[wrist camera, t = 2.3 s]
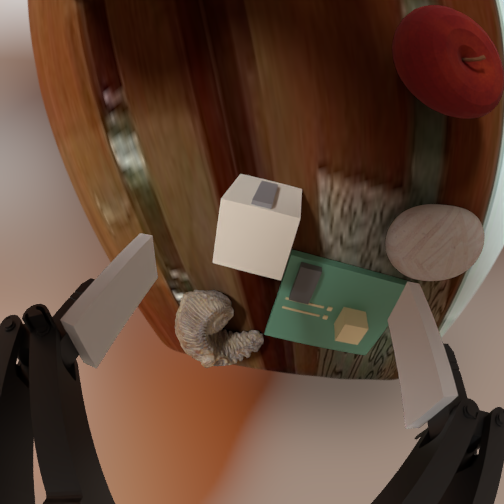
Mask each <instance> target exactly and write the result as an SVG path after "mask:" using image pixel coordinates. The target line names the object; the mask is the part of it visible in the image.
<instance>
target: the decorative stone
mask: <svg viewBox="0 0 504 504" xmlns="http://www.w3.org/2000/svg"><path fill="white" fill-rule="evenodd" d="M483 245H484V230H483V226H482V224H481V222H480V220H479V219H478V218H477V217H476V216H475V215H474V214H473V213H472V212H470V211H468V210H466V209H463V208H460V207H456V206H450V205H439V204H426V205H419V206H415V207H412V208H410V209H408V210H406V211H404V212H402V213H401V214H400V215H399V216H397V217H396V219H395V220H394V221H393V222H392V224H391V225H390V227H389V229H388V232H387V235H386V240H385V247H386V253H387V256H388V258H389V260H390V262H391V263H392V265H393V266H394V267H395V268H396V269H397V270H398V271H399V272H400V273H402V274H404V275H405V276H407V277H410V278H413V279H417V280H422V281H440V280H446V279H450V278H453V277H456V276H458V275H460V274H462V273H464V272H465V271H467V270H468V269H469V268H470V267H471V266H472V265H473V264H474V263H475V262H476V260H477V259H478V257H479V255H480V254H481V251H482V249H483Z"/></svg>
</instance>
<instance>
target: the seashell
mask: <svg viewBox="0 0 504 504" xmlns="http://www.w3.org/2000/svg"><path fill="white" fill-rule="evenodd" d="M233 316H234V310H233V308H232V307H231V301H230V299H229V298H228V297H227V296H225V295H224V294H222V293H221V292H218V291H215V290H211V291H210V290H208V291H203V290H201V291H199V290H194V292H186V293H184V295H183V298H181V302H180V306H179V308H178V311H177V313H176V320H175V324H176V325H175V329H176V330H175V333H176V335H177V337H178V340H179V341H180V343H181V347H182V348H183V349H184V351H185V353H186V354H188V355H190V356H192V358H194V359H196V360H198V361H201V364H202V365H203V366H204V367H205V368H208V367H211V366H224V365H232V363H234V364H235V363H237V359H238V360H239V361H242V360H243V356H245V357H246V358H249V357H250V355H251V352H252V351H254V352H257V351H258V350H259V348H260V347H261V345H262V344H263V342H264V339H263V333H260V332H259V331H257V330H250V331H249V332H246V331H243V332H241V333H239V332H235V333H233V332H232V331H229V332H227V330H226V329H223V328H224V327H225V325H226V324H227V323H228V320H230V319H231V318H232V317H233Z"/></svg>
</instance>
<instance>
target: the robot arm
mask: <svg viewBox="0 0 504 504" xmlns="http://www.w3.org/2000/svg"><path fill="white" fill-rule="evenodd" d="M157 278H158V276H157V269H156V261H155V253H154V245H153V236H152V235H147V234H141V233H140V234H139V235H138V236H137V237H136V238H135V239H134V240H133V241H132V242H131V243H130V244H129V245H128V246H127V247H126V248H125V249H124V250H123V251H122V252H121V253H120V254H119V255H118V256H117V257H116V258H115V259H114V260H113V261H112V262H111V263H110V264H109V265H108V266H107V267H106V268H105V269H104V270H103V272H102V273H101V274H100V275H99V276H98V277H97V278H96V279H89V280H87V281H86V282H84V283H82V284H81V285H80V286H79V288H78V289H77V290H76V291H75V293H73V294H72V295H71V296H70V298H69V299H68V300H67V301H66V302H65V303H64V304H63V305H62V307H61V308H60V309H59V310H58V311H57V312H56V314H55V315H54V316H53V317H52V316H51V314H50V312H49V310H48V309H47V307H46V306H45V305H42V304H36V305H33V306H31V307H30V308H28V309H27V310H26V311H25V313H24V314H23V318H22V319H23V321H24V323H25V324H23V323H22V321H21V319H20V318H19V317H18V316H17V315H10V316H8V317H6V318H5V319H4V320H3V321H2V323H1V324H0V504H35V495H34V480H33V443H34V442H33V441H35V448H36V453H37V458H38V463H39V467H40V472H41V476H42V480H43V484H44V487H45V491H46V500H45V501H44V502H43V504H115V502H114V500H113V498H112V496H111V493H110V491H109V489H108V486H107V483H106V480H105V477H104V475H103V472H102V469H101V466H100V463H99V460H98V457H97V454H96V450H95V447H94V443H93V439H92V436H91V432H90V428H89V424H88V420H87V415H86V411H85V406H84V401H83V395H82V390H81V383H80V377H79V370H78V364H77V361H76V358H77V357H78V355H80V357H81V359H82V360H83V362H84V363H86V364H88V365H90V366H92V367H95V368H97V367H98V366H99V364H100V362H101V361H102V359H103V358H104V356H105V355H106V353H107V352H108V350H109V348H110V347H111V345H112V344H113V342H114V341H115V339H116V338H117V336H118V334H119V333H120V331H121V330H122V328H123V327H124V325H125V324H126V322H127V321H128V320H129V318H130V316H131V315H132V314H133V312H134V311H135V309H136V308H137V306H138V305H139V303H140V302H141V301H142V299H143V298H144V296H145V295H146V293H147V292H148V291H149V289H150V288H151V286H152V285H153V284H154V282H155V281H156V279H157ZM387 321H388V325H389V329H390V334H391V338H392V343H393V348H394V353H395V358H396V364H397V369H398V375H399V381H400V387H401V395H402V402H403V410H404V419H405V428H406V429H409V428H420V427H421V426H422V425H424V424H425V423H426V422H428V428H427V429H426V430H424V431H423V432H422V433H420V434H419V435H417V436H416V438H415V439H418V438H419V437H421V438H420V439H419V441H418V442H417V444H416V446H415V447H414V449H413V450H412V452H411V453H410V455H409V456H408V458H407V459H406V460H405V462H404V463H403V465H402V466H401V467H400V469H399V471H397V473H396V474H395V475H394V477H393V478H392V479H391V481H390V482H389V483H388V484H387V486H386V487H385V488H384V489H383V490H382V492H381V493H380V494H379V495H378V496H377V497H376V499H375V500H374V501H373V502H372V503H371V504H494V501H495V497H496V494H497V490H498V486H499V481H500V478H501V472H502V468H503V463H504V409H502V408H501V407H497V408H495V409H494V410H492V411H491V412H490V413H488V412H484V411H480V410H479V408H478V406H477V404H476V403H475V402H474V401H473V400H471V399H468V398H467V395H466V391H465V388H464V384H463V380H462V377H461V374H460V371H459V367H458V364H457V361H456V358H455V355H454V352H453V351H452V349H451V348H450V346H449V345H448V344H443V342H442V339H441V336H440V333H439V331H438V328H437V325H436V323H435V320H434V317H433V315H432V312H431V310H430V307H429V305H428V302H427V300H426V298H425V295H424V293H423V291H422V288H421V286H420V284H419V283H413V282H408V281H407V283H406V285H405V287H404V289H403V291H402V293H401V295H400V297H399V299H398V301H397V303H396V305H395V307H394V309H393V311H392V313H391V314H390V316H389V318H388V320H387ZM17 358H18V359H19V362H18V364H16V361H17ZM479 448H480V449H479ZM477 449H479V454H478V455H477Z"/></svg>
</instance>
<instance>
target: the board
mask: <svg viewBox="0 0 504 504" xmlns="http://www.w3.org/2000/svg"><path fill="white" fill-rule="evenodd" d="M408 282H410V281H408ZM406 283H407V280H403V279H400V278H396V277H392V276H389V275H385V274H382V273H378V272H374V271H371V270H367V269H363V268H360V267H356V266H352V265H349V264H345V263H341V262H338V261H334V260H330V259H326V258H323V257H319V256H315V255H311V254H308V253H304V252H300V251H296V250H292V251H291V254H290V257H289V260H288V263H287V266H286V269H285V272H284V275H283V278H282V282H281V285H280V288H279V291H278V293H277V296H276V299H275V302H274V305H273V308H272V311H271V314H270V317H269V320H268V323H267V326H266V328H265V333H264V335H268V336H272V337H276V338H281V339H285V340H289V341H294V342H298V343H303V344H307V345H312V346H317V347H322V348H327V349H332V350H337V351H343V352H348V353H354V354H360V355H366V354H367V353H368V352H369V350H370V349H371V348H372V346H373V345H374V344H375V343H376V341H377V340H378V339H379V337H380V336H381V335H382V333H383V332H384V331H385V329H386V328H387V326H388V321H387V320H388V318H389V316H390V314H391V313H392V311H393V309H394V307H395V305H396V303H397V301H398V299H399V297H400V295H401V293H402V291H403V289H404V287H405V285H406Z"/></svg>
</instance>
